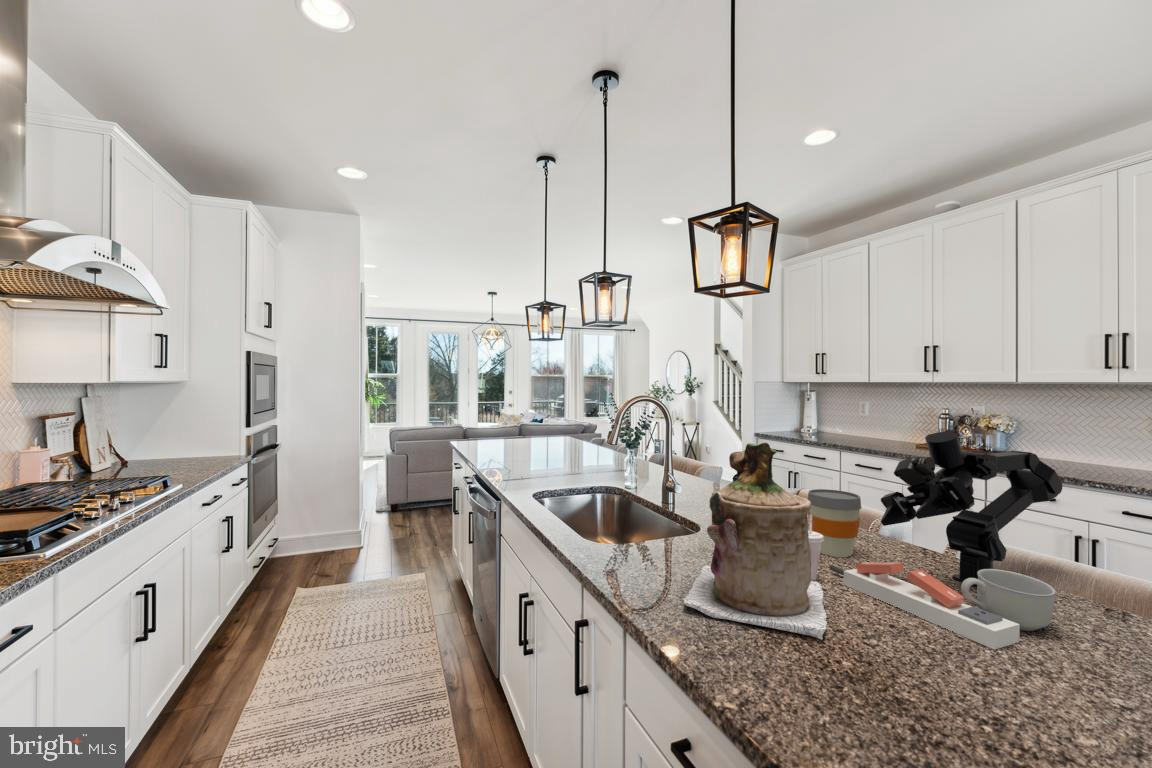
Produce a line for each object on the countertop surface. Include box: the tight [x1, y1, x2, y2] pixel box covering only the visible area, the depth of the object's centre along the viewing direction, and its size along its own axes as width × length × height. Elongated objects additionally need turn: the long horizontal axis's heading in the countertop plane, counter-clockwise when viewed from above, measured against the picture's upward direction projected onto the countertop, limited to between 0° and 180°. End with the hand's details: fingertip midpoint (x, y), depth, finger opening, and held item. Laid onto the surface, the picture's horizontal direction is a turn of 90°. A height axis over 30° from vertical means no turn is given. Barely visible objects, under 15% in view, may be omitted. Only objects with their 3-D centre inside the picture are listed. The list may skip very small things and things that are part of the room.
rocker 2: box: [906, 569, 965, 608], centre depth 92 cm, size 4×8×2 cm, turn 22°
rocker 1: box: [855, 561, 905, 574], centre depth 103 cm, size 4×8×2 cm, turn 22°
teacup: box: [960, 568, 1057, 632], centre depth 90 cm, size 14×11×8 cm
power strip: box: [829, 564, 1021, 651], centre depth 97 cm, size 7×34×4 cm, turn 22°
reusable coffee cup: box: [807, 488, 862, 558], centre depth 128 cm, size 13×13×15 cm
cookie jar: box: [683, 441, 828, 641], centre depth 97 cm, size 25×25×32 cm
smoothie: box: [808, 515, 824, 581], centre depth 110 cm, size 6×6×14 cm
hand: (898, 520), depth 100 cm, fingers open, 9 cm apart
